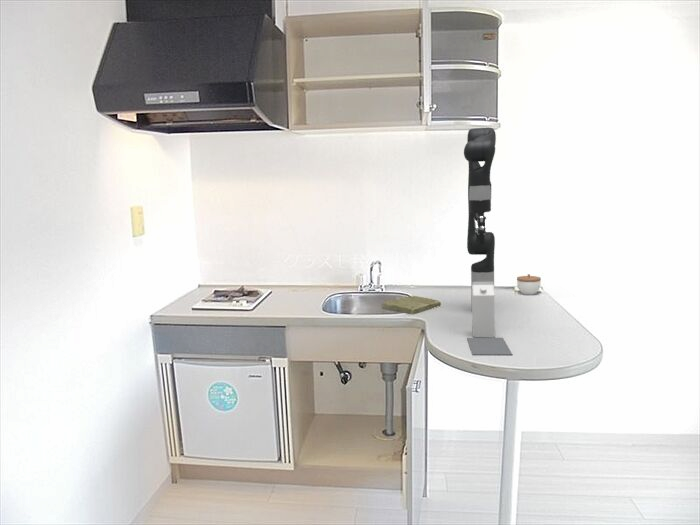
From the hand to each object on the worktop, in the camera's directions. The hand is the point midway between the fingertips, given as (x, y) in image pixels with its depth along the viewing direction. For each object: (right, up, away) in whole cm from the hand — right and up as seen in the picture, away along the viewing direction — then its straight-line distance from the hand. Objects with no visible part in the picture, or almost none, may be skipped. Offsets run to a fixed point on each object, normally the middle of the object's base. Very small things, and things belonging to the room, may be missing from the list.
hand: (480, 243), depth 185 cm
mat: (-2, -34, -18) cm, 39 cm away
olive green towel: (-20, -27, +42) cm, 54 cm away
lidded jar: (+39, -22, +61) cm, 75 cm away
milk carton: (0, -33, -5) cm, 33 cm away
